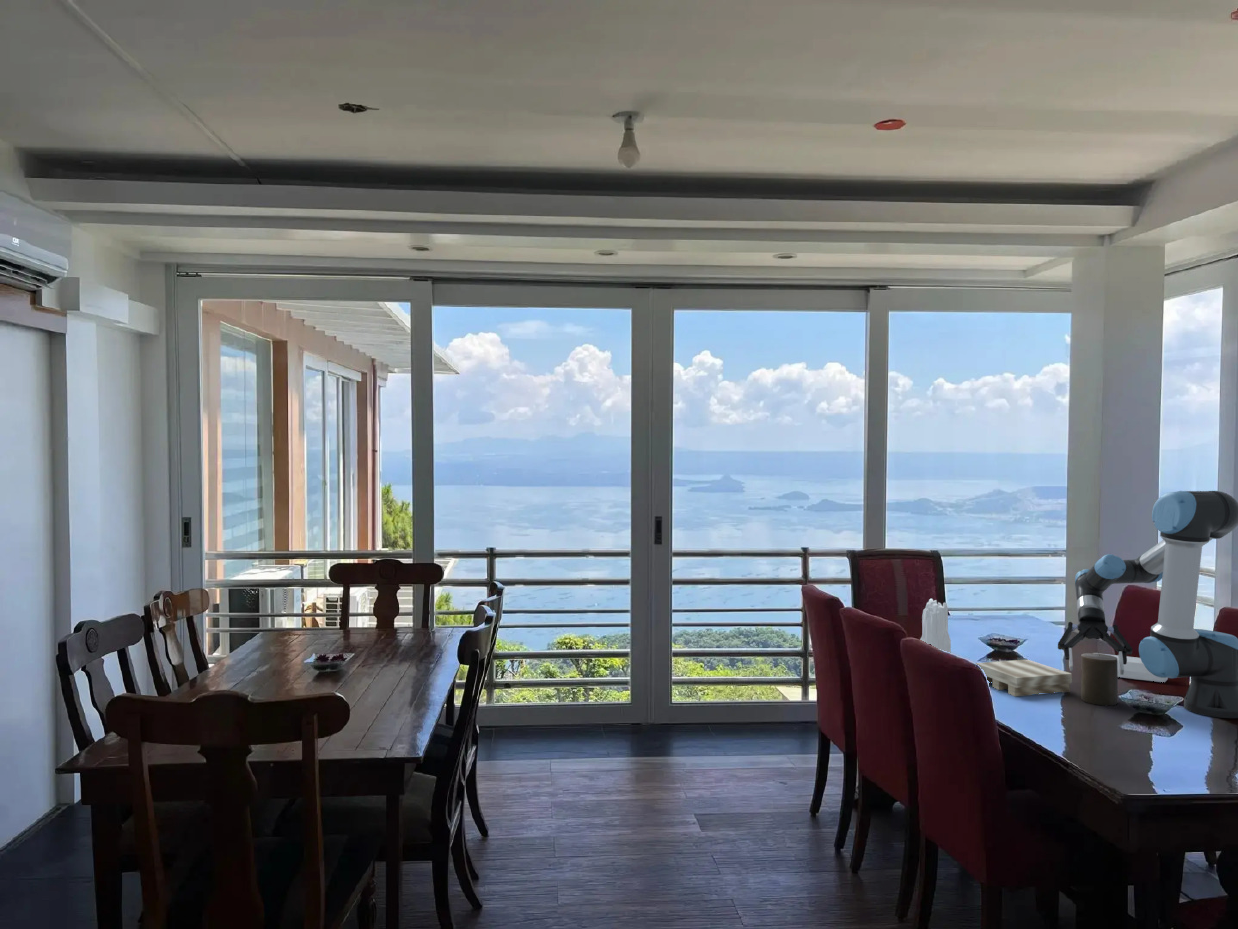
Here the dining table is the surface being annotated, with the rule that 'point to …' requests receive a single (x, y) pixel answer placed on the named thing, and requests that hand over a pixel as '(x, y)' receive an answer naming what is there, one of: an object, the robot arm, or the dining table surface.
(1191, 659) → the robot arm
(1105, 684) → the pillar candle
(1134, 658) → the white octagonal bar
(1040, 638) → the dining table surface
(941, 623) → the decorative vase
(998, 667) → the plate
